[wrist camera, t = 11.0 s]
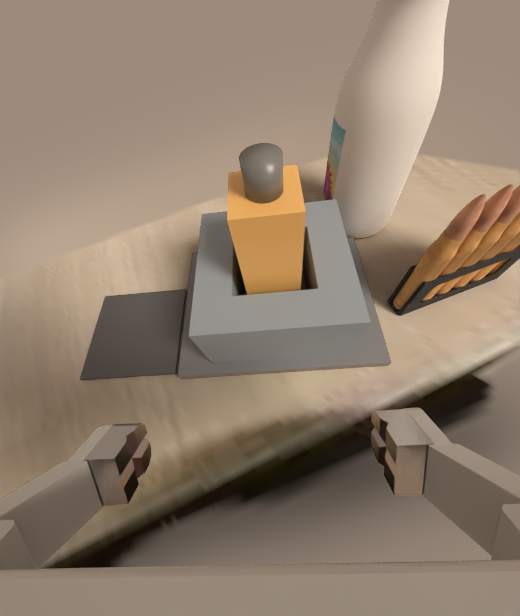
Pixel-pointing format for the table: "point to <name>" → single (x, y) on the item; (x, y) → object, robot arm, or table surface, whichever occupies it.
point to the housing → (280, 307)
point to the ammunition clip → (465, 252)
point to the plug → (267, 220)
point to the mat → (136, 336)
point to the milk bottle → (384, 111)
